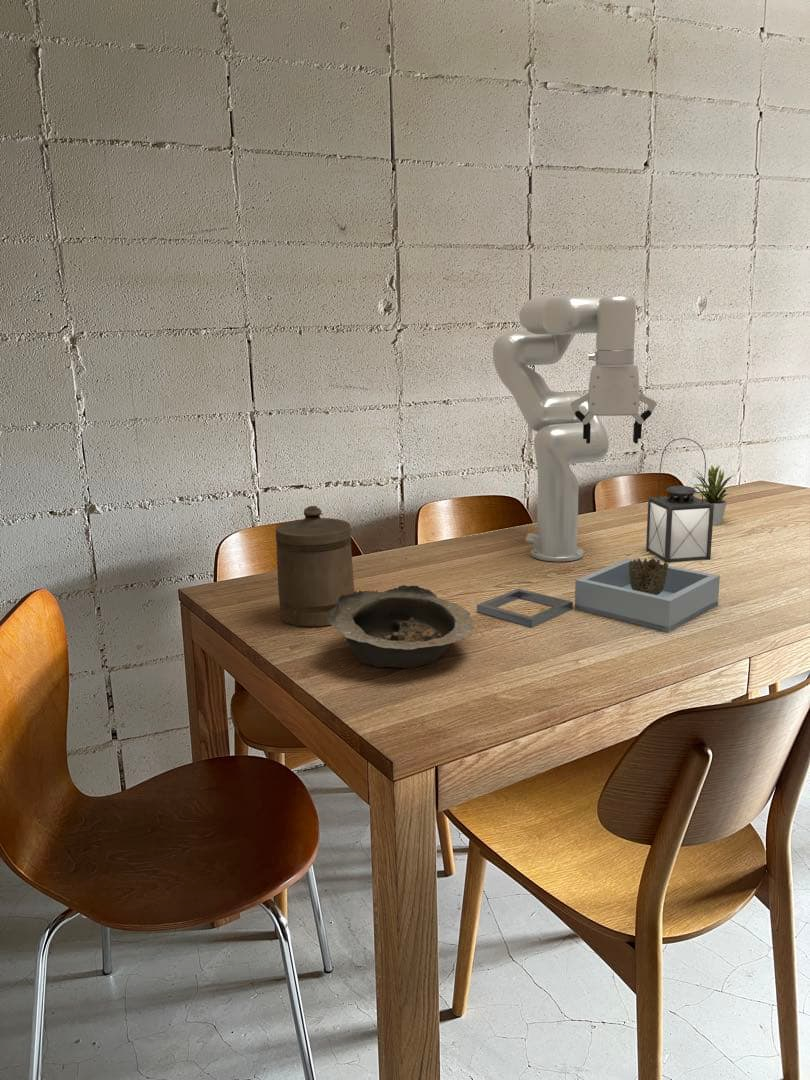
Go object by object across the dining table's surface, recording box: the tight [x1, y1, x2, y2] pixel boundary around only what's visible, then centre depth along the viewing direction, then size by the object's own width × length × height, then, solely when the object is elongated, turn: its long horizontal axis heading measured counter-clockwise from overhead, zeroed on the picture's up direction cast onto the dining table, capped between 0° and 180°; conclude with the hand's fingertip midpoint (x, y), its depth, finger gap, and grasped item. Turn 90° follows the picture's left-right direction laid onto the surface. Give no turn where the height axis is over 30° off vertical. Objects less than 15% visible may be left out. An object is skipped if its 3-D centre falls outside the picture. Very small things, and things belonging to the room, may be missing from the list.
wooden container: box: [275, 505, 355, 628], centre depth 165 cm, size 15×15×22 cm
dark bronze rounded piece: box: [628, 557, 669, 595], centre depth 165 cm, size 8×7×8 cm
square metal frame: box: [476, 588, 574, 628], centre depth 166 cm, size 13×13×2 cm
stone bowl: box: [327, 585, 475, 670], centre depth 146 cm, size 25×25×9 cm
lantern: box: [645, 437, 714, 564], centre depth 198 cm, size 11×11×28 cm
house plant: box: [689, 464, 737, 527], centre depth 230 cm, size 14×14×16 cm
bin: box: [574, 557, 721, 633], centre depth 166 cm, size 20×20×6 cm
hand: (611, 442), depth 176 cm, fingers open, 9 cm apart
